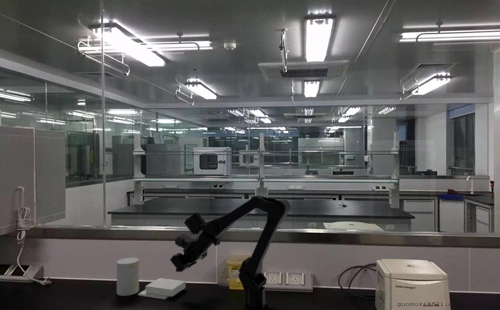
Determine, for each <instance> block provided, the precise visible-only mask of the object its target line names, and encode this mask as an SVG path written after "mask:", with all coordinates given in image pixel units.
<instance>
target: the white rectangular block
mask: <svg viewBox="0 0 500 310" xmlns="http://www.w3.org/2000/svg"><path fill="white" fill-rule="evenodd" d="M185 288H186V280H177V279H170V278H163V277H160V278H159V277H158V279H156V280H154V281H152V282H150V283H149V284H147V285H145V290H146V293H151V294H158V295H165V296H169V297H174V296H175V295H177V294H178V293H180V292H181V291H182V290H184V289H185Z"/></svg>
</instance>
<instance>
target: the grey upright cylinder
mask: <svg viewBox="0 0 500 310" xmlns="http://www.w3.org/2000/svg"><path fill="white" fill-rule="evenodd" d="M139 261H140V260H139V258H137V257H126V258H121V259H118V260H116V295H118V296H123V297H125V296H126V297H127V296H132V295H135V294H138V293H139V292H140V262H139Z"/></svg>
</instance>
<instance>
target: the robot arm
mask: <svg viewBox="0 0 500 310" xmlns="http://www.w3.org/2000/svg"><path fill="white" fill-rule="evenodd" d="M291 206H292V205H291V203H290V202H289V201H288V200H287V199H285V198H279V199H276V198H272V197H267V196H262V195H260V194H258V195H254V196H252V197H251V198H250V199H248V200H247V201H245V202H244V203H243V204H241V205H239V206H237V207H236V208H235V209H233V210H232V211H230V212H228V213H227V214H225V215H223V216H220V217H217V218H215V219H212V220H210V221H205V219H204V217H202V216H201V214H200V213H199V212H198V211H196V212H194V213H193V214H192V215H190V216H188V218H186V219H185V221H184V222H183V224H184V226H185V227H186V228H187V229H188V231H190V233H191V234H192V235H193V236H195V235H196V236H197V238H196V239H195V240H194V239H193V238H191V236H189V235H187V234H184V233H182V234H180V235H178V236H177V237H176V238H175V239H174V244H175V245H176V246H178V247H180V248H182V252H183V253H181V252H177V253H175V254H173V255H172V256H171V257H170V259H169V261H170V262H171V263H172V264H173V266H174V267H175V272H176V273H182V272H184V271H185V270H188V269H189V268H191V267H192V266H195V265H196V264H198V262H197V261H199V260H200V261H203V260H205V259H206V257H208V251H209V249H210V247H211V246H212V245H214V246H215V247H217V246H220V245H221V237H219V236H220V235H221V234H225V233H226V232H227V231H229V230H230V228H232V226H233V225H234V224H235V223H236V222H238V221H239V220H240V219H242V218H243V217H245V216H247V215H249V214H250V213H252V212H253V211H254V210H256V209H258V210H260V211H263V212H265V213H266V223H265V225H264V227H263V228H262V229H263V230H262V231H261V234H260V236H259V239H258V240H257V243H256V244H255V247H254V250H253V252H252V254H251V256H248V257H247V258H245V259H244V260H243V261H242V262H241V266H240V269H239V270H237V272H239V273H238V280H239V281H240V283H241V285H242V288H243V291H244V292H243V304H244V306H243V308H244V309H248V310H264V308H265V306H266V305H267V303H268V302H267V301H266V287H265V285H266V284H267V282H268V281H267V280H268V278H267V277H266V276H265V275H264V274H263V272H262V270H263V261H264V259H265V257H266V254H267V252H268V250H269V248H270V245H271V243H272V241H273V239H274V237H275V234H276V232H277V231H278V229H279V227H280V225H281V224H282V222H283V221H284V220H285V219H286V217H287V216H288V214H289V213H290V211H291V209H292V208H291Z"/></svg>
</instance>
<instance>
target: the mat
mask: <svg viewBox="0 0 500 310" xmlns="http://www.w3.org/2000/svg"><path fill="white" fill-rule="evenodd" d="M137 295H138V297H139V296H140V297H146V298H153V299H158V300H159V299H160V300H166V299H168V298H170V296H165V295H158V294H151V293H146V289H144V290H142V291H140V292H138V293H137Z"/></svg>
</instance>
